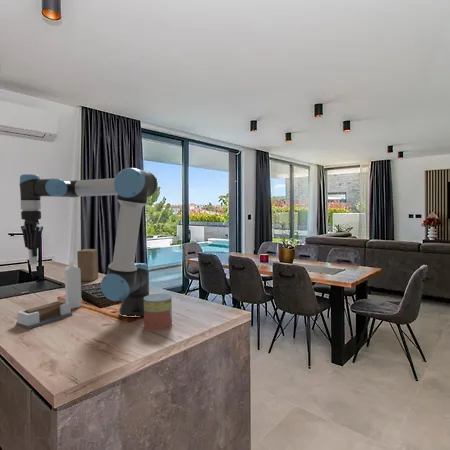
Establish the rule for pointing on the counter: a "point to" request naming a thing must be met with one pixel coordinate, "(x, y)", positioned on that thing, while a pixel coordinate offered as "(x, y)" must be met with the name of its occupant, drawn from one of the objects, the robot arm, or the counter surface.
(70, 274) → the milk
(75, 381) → the counter surface
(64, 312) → the endcap rail
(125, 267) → the robot arm
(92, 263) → the wooden block
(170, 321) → the canned food
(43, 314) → the slat
